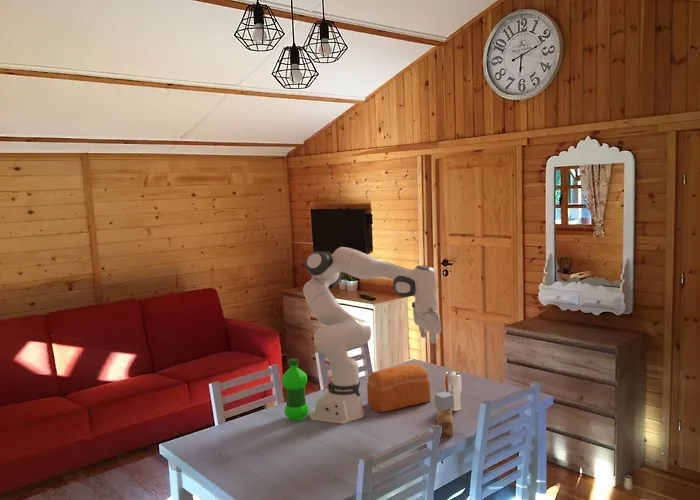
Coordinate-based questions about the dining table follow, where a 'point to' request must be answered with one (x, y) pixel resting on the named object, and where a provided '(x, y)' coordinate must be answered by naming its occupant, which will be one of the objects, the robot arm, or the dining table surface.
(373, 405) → the bread
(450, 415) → the oak block
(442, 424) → the walnut base block
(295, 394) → the plastic bottle
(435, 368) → the dining table surface
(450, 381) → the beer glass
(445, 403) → the slate block
